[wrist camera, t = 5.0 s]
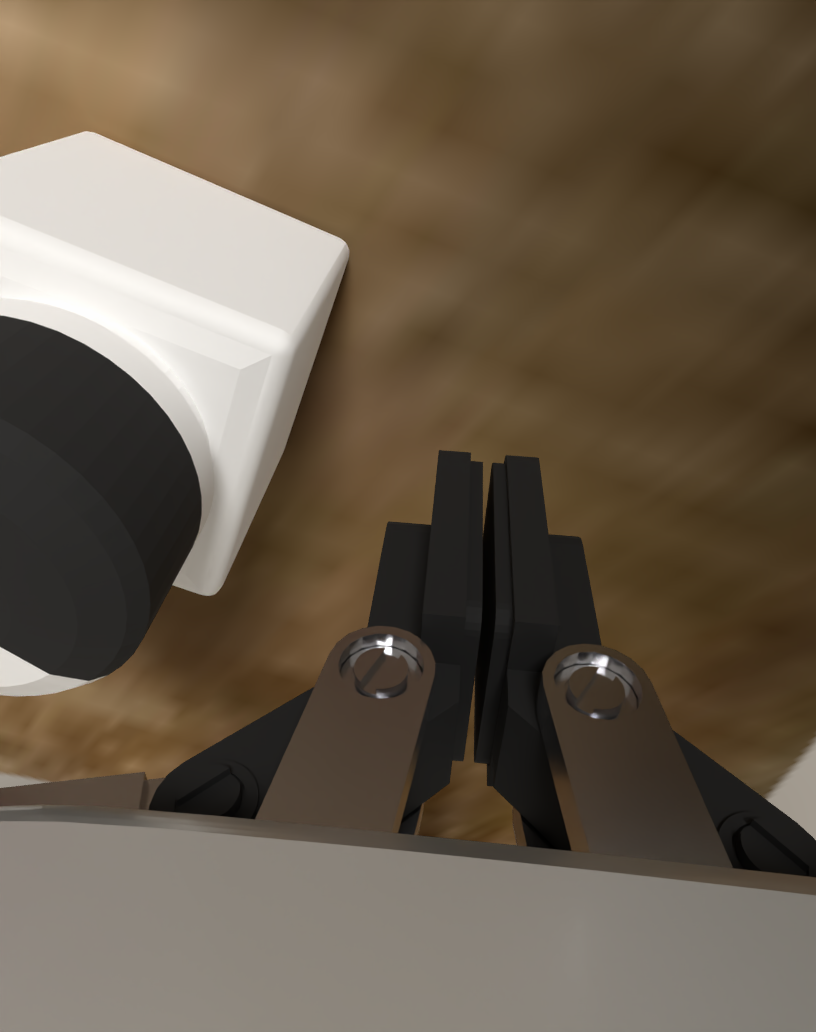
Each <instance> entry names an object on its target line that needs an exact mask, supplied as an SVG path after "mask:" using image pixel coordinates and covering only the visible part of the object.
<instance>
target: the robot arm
mask: <svg viewBox="0 0 816 1032" xmlns="http://www.w3.org/2000/svg"><path fill="white" fill-rule="evenodd" d="M474 678H475V714H474V762H475V763H486V764H487V786H494V788H495V789H496V790H497V791H498V792H499V793H500V794H501V795H502V796H503V797H504V798H505V799H506V800H507V801H508V802H509V803H510V804H511V805H512V806H513V810H512V813H513V828H514V833H515V838H516V843H517V846H516V845H506V844H497V843H487V842H477V841H467V840H457V839H448V838H438V837H428V836H418V833H419V828H420V824H421V820H422V816H423V806H424V802H425V801H427V800H428V799H429V798H430V797H432V796H433V795H434V794H436V793H437V792H438V791H440V790H441V789H442V788H444V787H445V786H446V785H448V784H449V783H450V774H451V766H452V760H455V761H463V760H464V753H465V745H466V738H467V730H468V723H469V715H470V708H471V700H472V693H473V685H474ZM0 1032H816V840H815V839H814V838H813V837H812V836H811V835H810V834H809V833H807V832H806V831H805V830H804V829H803V828H802V827H801V826H800V825H798V823H796V822H795V821H794V820H792V819H791V818H790V817H788V816H787V815H786V814H784V813H783V812H782V811H780V810H779V809H778V808H776V807H775V806H774V805H772V804H771V803H770V802H768V801H767V800H766V799H764V798H763V797H762V796H760V795H759V794H758V793H756V792H755V791H754V790H752V789H751V788H750V787H748V786H747V785H746V784H744V783H743V782H742V781H740V780H739V779H738V778H736V777H735V776H734V775H732V774H731V773H730V772H728V771H727V770H726V769H724V768H723V767H722V766H720V765H719V764H718V763H716V762H715V761H714V760H712V759H711V758H710V757H708V756H707V755H706V754H704V753H703V752H702V751H700V750H699V749H698V748H696V747H695V746H694V745H692V744H691V743H690V742H688V741H687V740H685V739H684V738H683V737H681V736H680V735H679V734H677V733H676V732H675V731H673V730H672V728H671V726H670V723H669V721H668V719H667V717H666V714H665V712H664V710H663V707H662V705H661V703H660V701H659V698H658V696H657V694H656V692H655V689H654V687H653V685H652V683H651V681H650V679H649V678H648V676H647V675H646V673H645V672H644V670H643V669H642V668H641V667H640V666H639V665H637V664H636V663H635V662H634V661H633V660H632V659H631V658H629V657H627V656H625V655H624V654H622V653H620V652H618V651H616V650H614V649H610V648H607V647H604V646H601V640H600V635H599V629H598V624H597V619H596V613H595V608H594V603H593V597H592V592H591V587H590V581H589V576H588V570H587V565H586V560H585V554H584V549H583V544H582V541H581V539H580V538H579V537H575V536H562V535H550V534H548V528H547V520H546V512H545V504H544V496H543V488H542V480H541V471H540V463H539V458H535V457H522V456H508V455H506V456H505V460H504V464H502V463H492V468H491V476H490V484H489V492H488V500H487V508H486V517H485V525H484V533H483V462H475V461H471V453H468V452H455V451H442V450H439V455H438V465H437V475H436V485H435V494H434V504H433V514H432V524H431V525H425V524H412V523H400V522H388V523H387V527H386V532H385V538H384V543H383V548H382V553H381V559H380V564H379V569H378V575H377V580H376V585H375V591H374V596H373V601H372V606H371V612H370V617H369V622H368V627H367V628H362V629H359V630H357V631H354V632H352V633H349V634H348V635H346V636H345V637H344V638H343V639H341V640H340V641H339V642H337V643H336V645H335V646H334V648H333V649H332V651H331V652H330V654H329V656H328V658H327V660H326V662H325V665H324V667H323V669H322V671H321V674H320V676H319V678H318V680H317V682H316V685H315V687H313V688H311V689H310V690H308V691H306V692H304V693H303V694H301V695H299V696H297V697H296V698H294V699H292V700H291V701H289V702H287V703H285V704H284V705H282V706H280V707H279V708H277V709H275V710H273V711H272V712H270V713H268V714H266V715H265V716H263V717H261V718H260V719H258V720H256V721H254V722H253V723H251V724H249V725H247V726H246V727H244V728H242V729H241V730H239V731H237V732H235V733H234V734H232V735H230V736H228V737H227V738H225V739H223V740H222V741H220V742H218V743H216V744H215V745H213V746H211V747H210V748H208V749H206V750H204V751H203V752H201V753H199V754H197V755H196V756H194V757H192V758H191V759H189V760H187V761H185V762H184V763H182V764H181V765H180V766H178V767H177V768H176V769H174V770H173V771H172V772H170V773H169V774H168V775H167V776H166V778H159V779H150V780H147V778H146V774H145V772H140V773H132V774H123V775H114V776H105V777H96V778H87V779H78V780H69V781H60V782H51V783H42V784H33V785H24V786H16V787H6V788H0Z"/></svg>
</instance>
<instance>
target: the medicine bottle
mask: <svg viewBox="0 0 816 1032" xmlns="http://www.w3.org/2000/svg"><path fill="white" fill-rule="evenodd" d="M348 259H349V248H348V246H347V244H346V242H345V241H343V240H342V239H341V238H339V237H336V236H334V235H332V234H329V233H327V232H325V231H322V230H320V229H318V228H315V227H313V226H311V225H308V224H306V223H304V222H301V221H299V220H297V219H294V218H292V217H290V216H287V215H285V214H283V213H280V212H278V211H276V210H273V209H271V208H269V207H266V206H264V205H262V204H259V203H257V202H255V201H252V200H250V199H248V198H246V197H243V196H241V195H239V194H236V193H234V192H232V191H229V190H227V189H225V188H222V187H220V186H218V185H215V184H213V183H211V182H208V181H206V180H204V179H201V178H199V177H197V176H194V175H192V174H190V173H187V172H185V171H183V170H180V169H178V168H176V167H173V166H171V165H169V164H166V163H164V162H162V161H159V160H157V159H155V158H152V157H150V156H148V155H145V154H143V153H141V152H138V151H136V150H134V149H131V148H129V147H127V146H124V145H122V144H120V143H117V142H115V141H113V140H111V139H108V138H106V137H104V136H101V135H99V134H97V133H94V132H87V131H85V132H82V133H78V134H75V135H72V136H69V137H65V138H62V139H59V140H55V141H52V142H49V143H45V144H42V145H39V146H35V147H32V148H29V149H25V150H22V151H19V152H15V153H12V154H9V155H6V156H2V157H0V695H6V696H38V695H45V694H52V693H57V692H61V691H64V690H68V689H72V688H75V687H78V686H82V685H85V684H88V683H92V682H94V681H96V680H98V679H100V678H103V677H105V676H107V675H109V674H110V673H112V672H113V671H115V670H116V669H118V668H119V667H121V666H122V665H123V664H124V663H125V662H126V661H127V660H128V659H129V658H130V657H131V656H132V655H133V654H134V652H135V651H136V649H137V648H138V646H139V644H140V643H141V641H142V640H143V638H144V636H145V634H146V632H147V630H148V629H149V627H150V625H151V623H152V621H153V619H154V618H155V616H156V614H157V612H158V610H159V608H160V606H161V605H162V603H163V601H164V599H165V597H166V595H167V594H168V592H169V590H170V588H171V586H172V585H174V586H177V587H179V588H182V589H185V590H188V591H191V592H194V593H197V594H200V595H205V596H211V595H214V594H216V593H217V592H218V591H219V590H220V588H221V587H222V586H223V584H224V582H225V579H226V577H227V575H228V573H229V571H230V568H231V566H232V564H233V562H234V560H235V557H236V555H237V553H238V551H239V549H240V546H241V544H242V542H243V540H244V538H245V535H246V533H247V531H248V529H249V527H250V524H251V522H252V520H253V518H254V516H255V513H256V511H257V509H258V507H259V505H260V502H261V500H262V498H263V496H264V494H265V491H266V489H267V487H268V485H269V483H270V480H271V478H272V476H273V474H274V472H275V469H276V467H277V465H278V463H279V461H280V458H281V456H282V454H283V452H284V449H285V446H286V443H287V440H288V437H289V434H290V431H291V428H292V425H293V422H294V419H295V416H296V413H297V411H298V408H299V405H300V402H301V399H302V396H303V393H304V390H305V387H306V384H307V381H308V378H309V375H310V372H311V369H312V366H313V363H314V360H315V357H316V354H317V351H318V348H319V345H320V342H321V339H322V336H323V333H324V330H325V327H326V324H327V321H328V318H329V315H330V312H331V309H332V306H333V303H334V300H335V297H336V294H337V291H338V288H339V285H340V283H341V280H342V277H343V274H344V271H345V268H346V265H347V262H348Z"/></svg>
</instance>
